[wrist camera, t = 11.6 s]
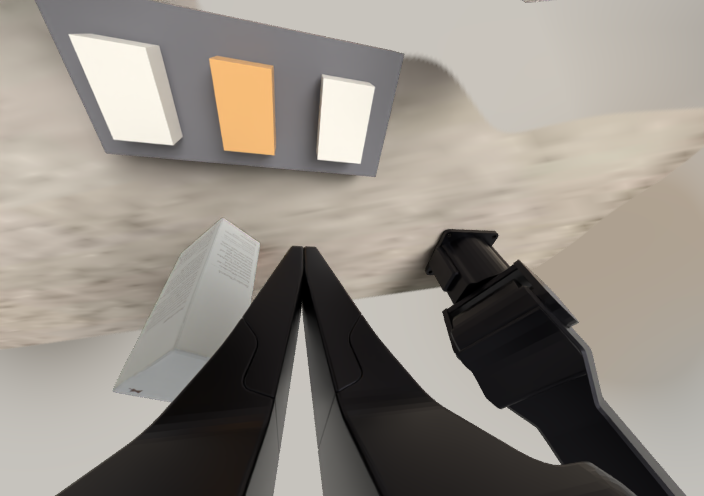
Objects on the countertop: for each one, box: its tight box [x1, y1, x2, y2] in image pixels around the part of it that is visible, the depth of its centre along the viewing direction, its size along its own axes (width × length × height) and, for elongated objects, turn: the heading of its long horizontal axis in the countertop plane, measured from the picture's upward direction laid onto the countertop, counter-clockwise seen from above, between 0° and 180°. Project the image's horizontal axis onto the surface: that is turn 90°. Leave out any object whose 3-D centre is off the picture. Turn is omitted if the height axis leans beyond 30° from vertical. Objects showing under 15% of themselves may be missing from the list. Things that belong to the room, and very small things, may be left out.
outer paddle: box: [68, 34, 183, 145], centre depth 12 cm, size 3×4×1 cm, turn 171°
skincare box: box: [113, 218, 260, 402], centre depth 19 cm, size 6×4×12 cm
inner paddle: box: [316, 74, 375, 164], centre depth 14 cm, size 3×4×1 cm, turn 171°
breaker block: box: [35, 0, 404, 177], centre depth 15 cm, size 16×7×3 cm, turn 81°
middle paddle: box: [209, 56, 276, 155], centre depth 13 cm, size 3×4×1 cm, turn 171°
